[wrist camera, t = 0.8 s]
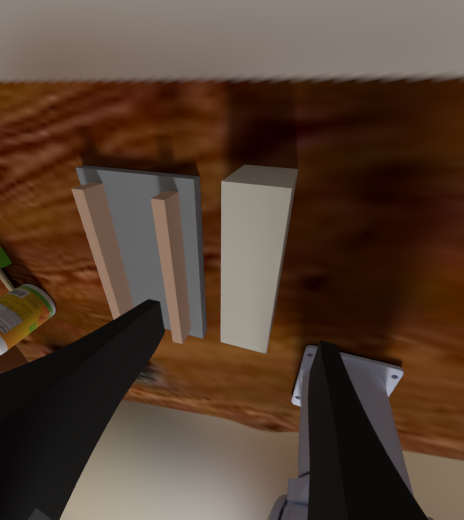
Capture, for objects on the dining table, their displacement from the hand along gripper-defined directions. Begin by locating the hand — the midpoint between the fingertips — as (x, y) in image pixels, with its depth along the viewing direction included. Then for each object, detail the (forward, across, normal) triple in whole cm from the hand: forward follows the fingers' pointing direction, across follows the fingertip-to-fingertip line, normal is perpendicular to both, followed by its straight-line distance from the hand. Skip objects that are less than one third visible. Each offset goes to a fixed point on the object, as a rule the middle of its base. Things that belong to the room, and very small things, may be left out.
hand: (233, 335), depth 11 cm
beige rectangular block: (+10, 0, 0) cm, 10 cm away
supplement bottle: (+10, +29, +14) cm, 34 cm away
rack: (+9, +10, +4) cm, 14 cm away
